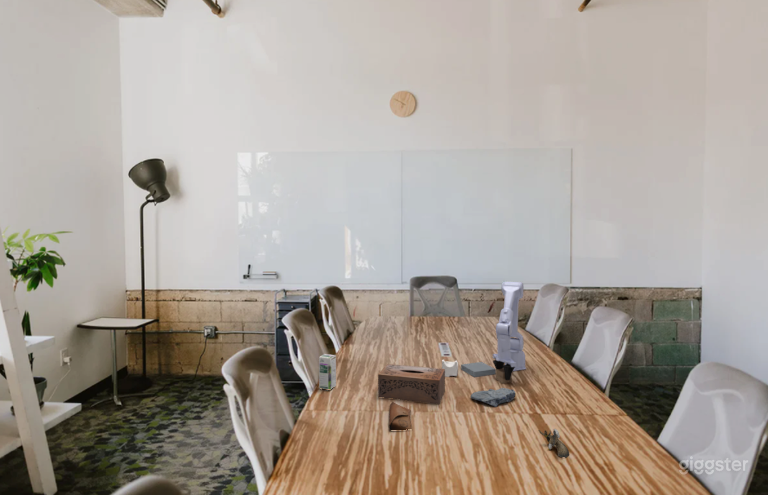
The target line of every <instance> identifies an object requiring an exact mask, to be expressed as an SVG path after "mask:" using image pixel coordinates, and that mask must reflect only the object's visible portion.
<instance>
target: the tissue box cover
mask: <svg viewBox="0 0 768 495" xmlns="http://www.w3.org/2000/svg"><path fill="white" fill-rule="evenodd" d="M377 380H378V381H377V388H378V389H377V391H378V392H377V394H378V395H377V397H378V398H379V397H384V398H383V399H388V398H393V399H392V400H397V399H400V400H399V401H405V400H407V401H406V402H414V401H415V403H422V404H423V403H424V404H433V405H440V404H441V402H442V400H443V397H444V395H445V392H446V377H445V369H442V368H439V367H437V368H436V367H427V366H415V365H404V364H392V363H387V364H386V365H385V366H384V368H383V369H382V370H380V372H379V373H377Z"/></svg>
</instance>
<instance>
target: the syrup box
mask: <svg viewBox="0 0 768 495" xmlns="http://www.w3.org/2000/svg"><path fill="white" fill-rule="evenodd" d="M318 374H319V376H318V378H319V381H318V383H319V384H318V386H319V387H318V388H323V389H332V388H333V387H335V386H336V387H337V356H336V354H327V353H323V354H322V355H320V356H319V357H318ZM336 387H335V388H336ZM333 389H334V388H333ZM333 389H332V390H333Z"/></svg>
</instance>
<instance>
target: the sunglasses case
mask: <svg viewBox="0 0 768 495" xmlns="http://www.w3.org/2000/svg"><path fill="white" fill-rule="evenodd" d="M388 409H389V410H388V412H389V413H388V430H389V431H390V430H406V429H407V430H408V429H412V430H413V428H412V423H411V422H412V420H411V411H412V410H411V409H410V408H407V407H406V406H402V405H400V404H398V403H396V402H395V401H392V402H391V403H389V408H388Z"/></svg>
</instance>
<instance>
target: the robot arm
mask: <svg viewBox="0 0 768 495" xmlns="http://www.w3.org/2000/svg"><path fill="white" fill-rule="evenodd" d="M501 293H502V295H503V296H504V301H503V302H504V303H503V308H502V309H501V310H500V313H499V320H498V323H496V325H495V326H496V327H495V333H496V334H495V335H496V339H497V353H492V358H493V359H494V360H492V363H493V365H494V367H495V369H502V368H504V372H505V380H510V378H511V374H512V373H513V372H516V371H522V370H526V369H527V367H526V353H525V351H524V343H525V342H524V336H523V334H522V333H520V332H519V331H518V327H519V302H520V299H523V298H524V283H523V281H507V280H506V281H505V280H503V281H502V283H501ZM512 375H513V374H512Z"/></svg>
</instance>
